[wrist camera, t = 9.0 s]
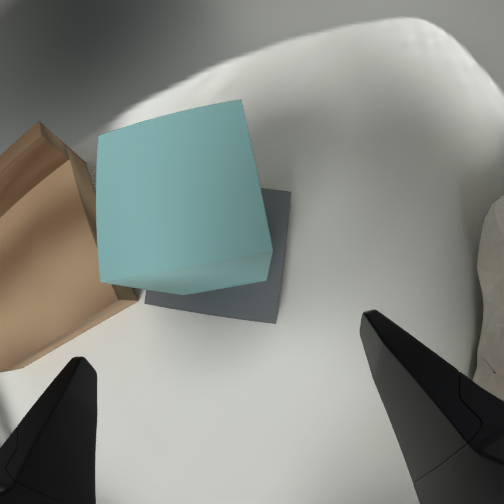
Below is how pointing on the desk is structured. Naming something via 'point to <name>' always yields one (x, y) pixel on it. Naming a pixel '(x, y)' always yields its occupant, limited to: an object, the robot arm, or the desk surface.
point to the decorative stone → (492, 302)
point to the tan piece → (48, 251)
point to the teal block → (181, 203)
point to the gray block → (250, 295)
